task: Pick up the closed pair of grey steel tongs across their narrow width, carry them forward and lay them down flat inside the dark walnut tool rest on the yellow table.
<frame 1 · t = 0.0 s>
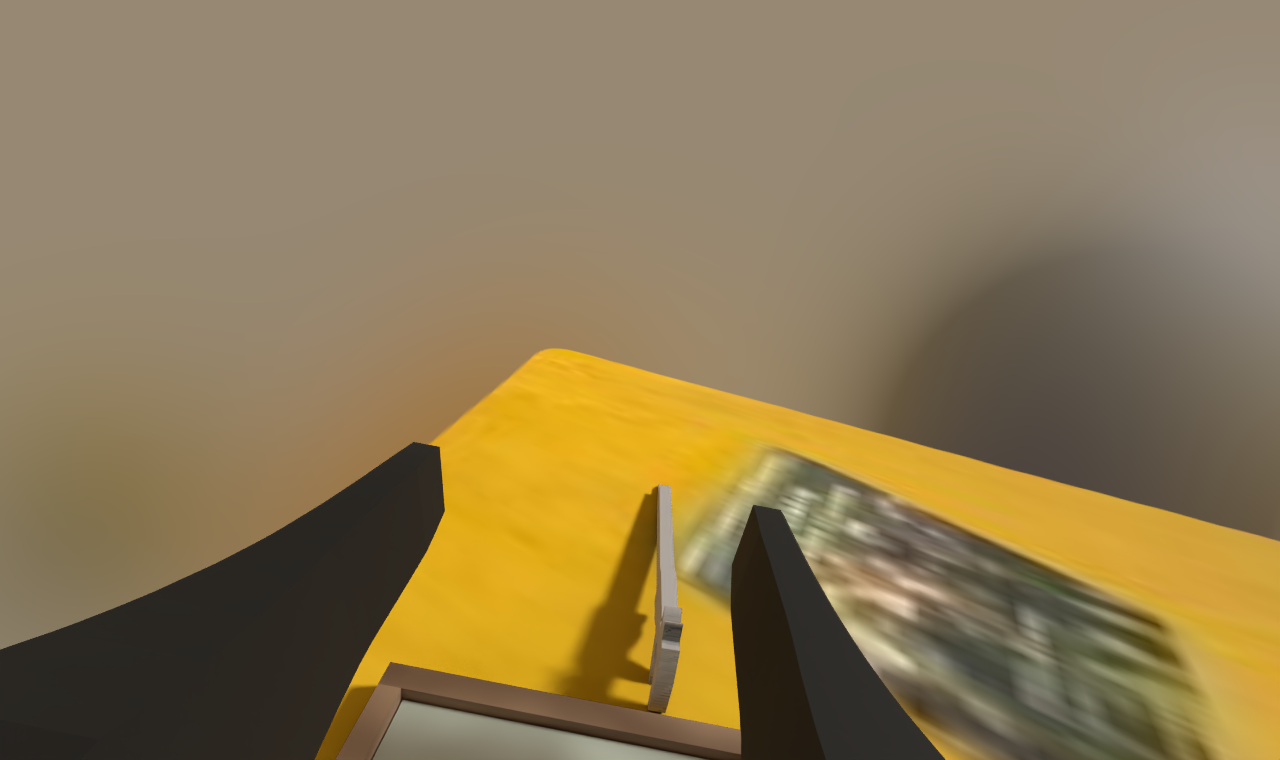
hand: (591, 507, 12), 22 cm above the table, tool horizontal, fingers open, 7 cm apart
caliper: (659, 579, 39), on the table
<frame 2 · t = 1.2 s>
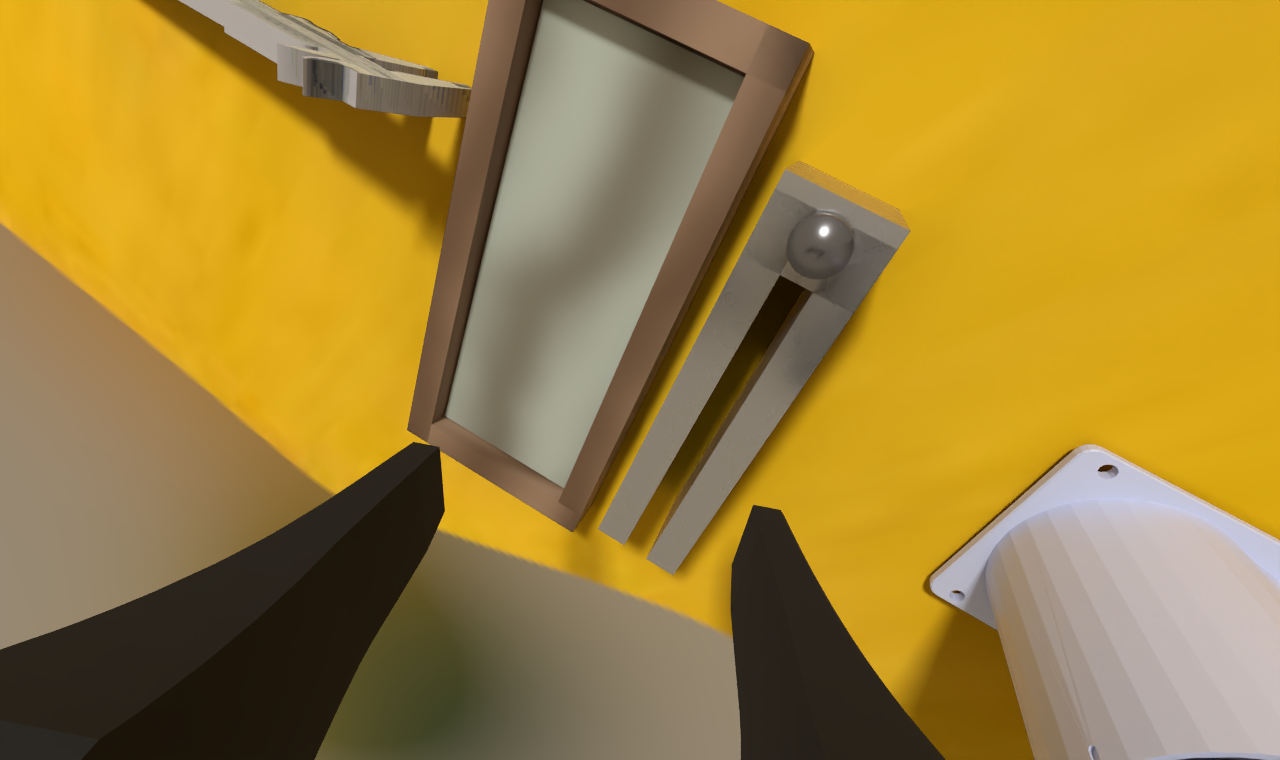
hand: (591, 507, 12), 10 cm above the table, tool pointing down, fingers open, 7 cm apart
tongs: (737, 372, 20), on the table
rest: (572, 281, 21), on the table
caliper: (273, 8, 21), on the table
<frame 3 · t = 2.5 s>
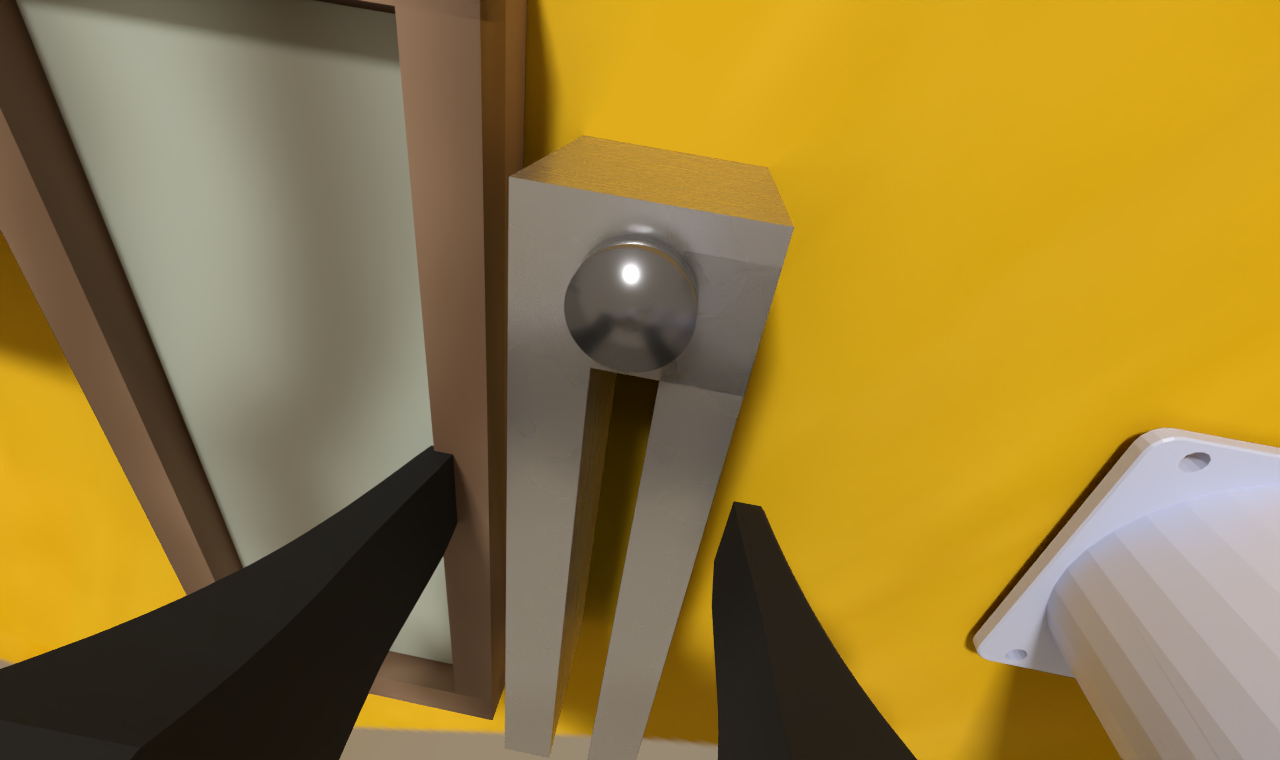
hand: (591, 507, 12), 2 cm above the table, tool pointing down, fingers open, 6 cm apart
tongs: (624, 462, 14), on the table
rest: (342, 408, 14), on the table
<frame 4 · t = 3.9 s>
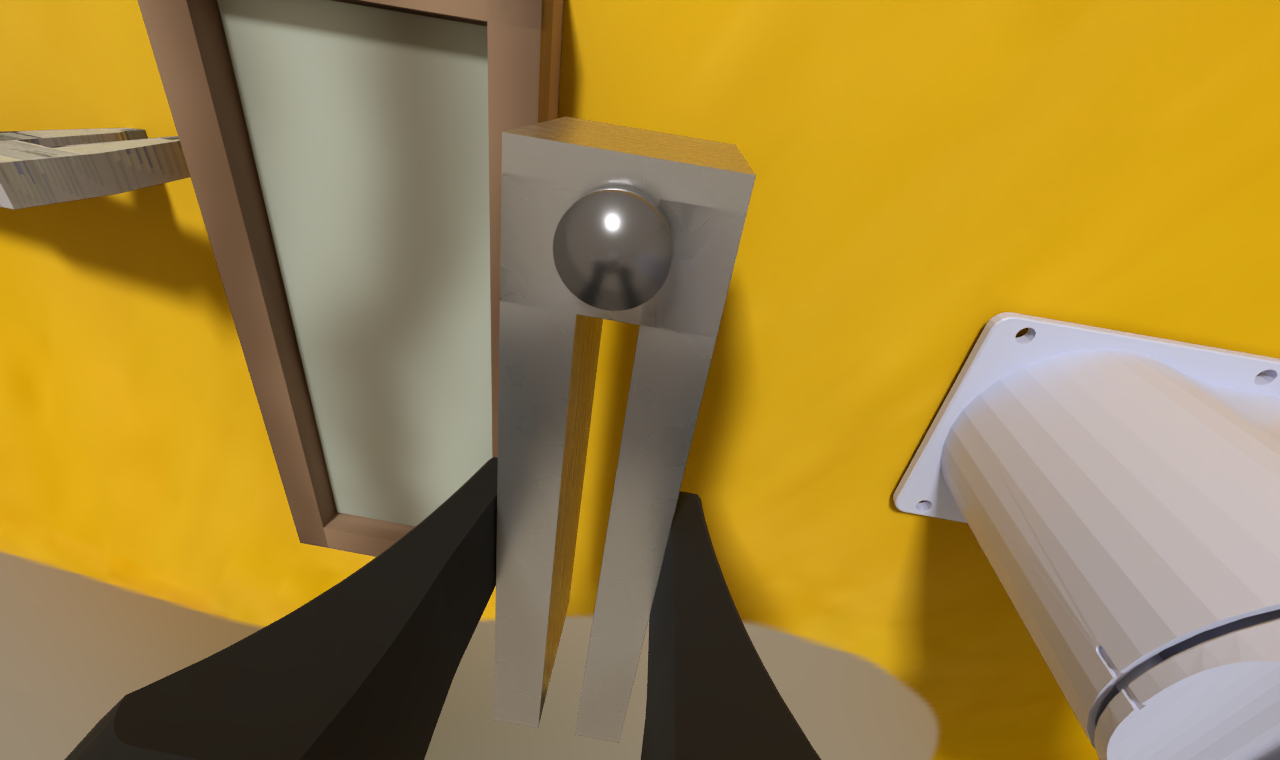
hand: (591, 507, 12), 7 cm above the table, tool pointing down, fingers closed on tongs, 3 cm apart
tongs: (607, 435, 14), point 4 cm above the table, touching gripper
rest: (411, 321, 18), on the table
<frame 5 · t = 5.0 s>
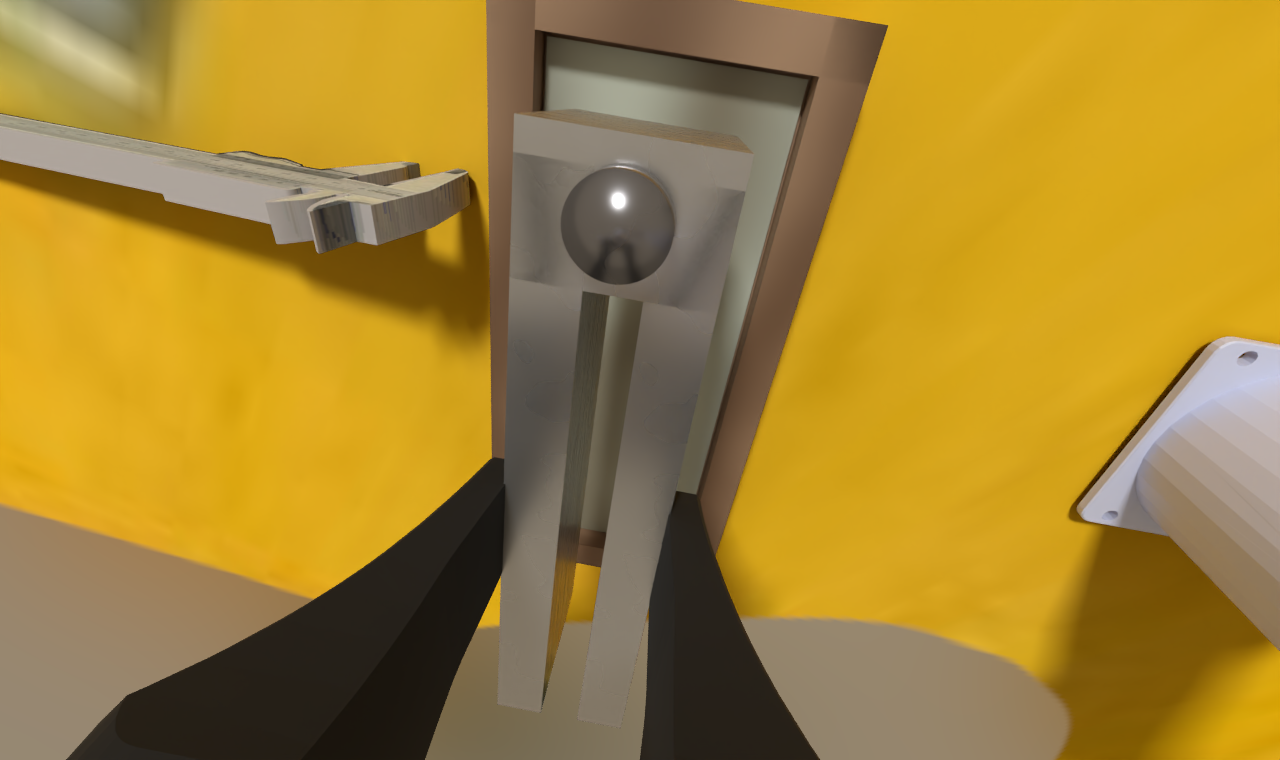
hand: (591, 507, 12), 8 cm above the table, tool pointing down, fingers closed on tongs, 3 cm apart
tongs: (612, 423, 14), point 5 cm above the table, touching gripper
rest: (635, 340, 19), on the table
caliper: (186, 146, 18), on the table
when the fingers open (3 cm above the table, at t = 6.2 s): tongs stays where it is, resting on rest.
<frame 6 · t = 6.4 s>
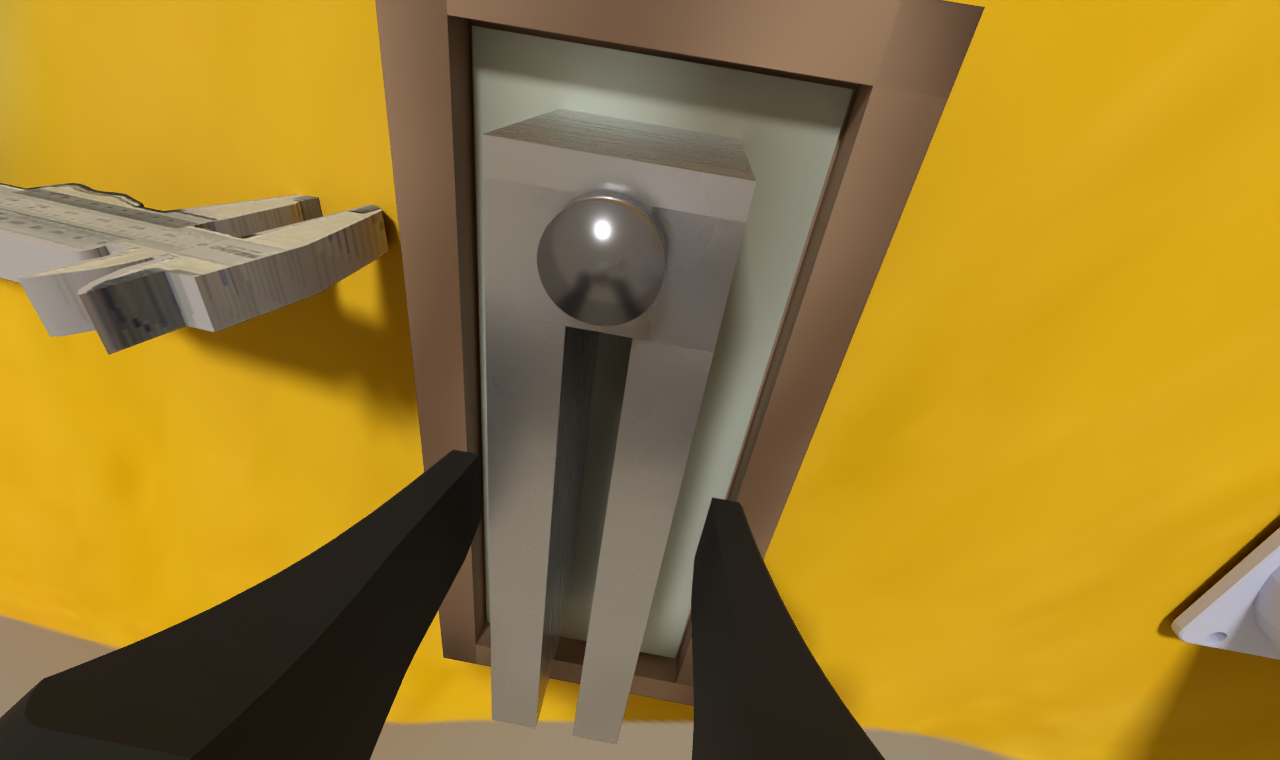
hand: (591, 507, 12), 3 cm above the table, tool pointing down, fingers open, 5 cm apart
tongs: (606, 437, 14), point 1 cm above the table, touching rest
rest: (614, 420, 15), on the table
caliper: (21, 173, 14), on the table
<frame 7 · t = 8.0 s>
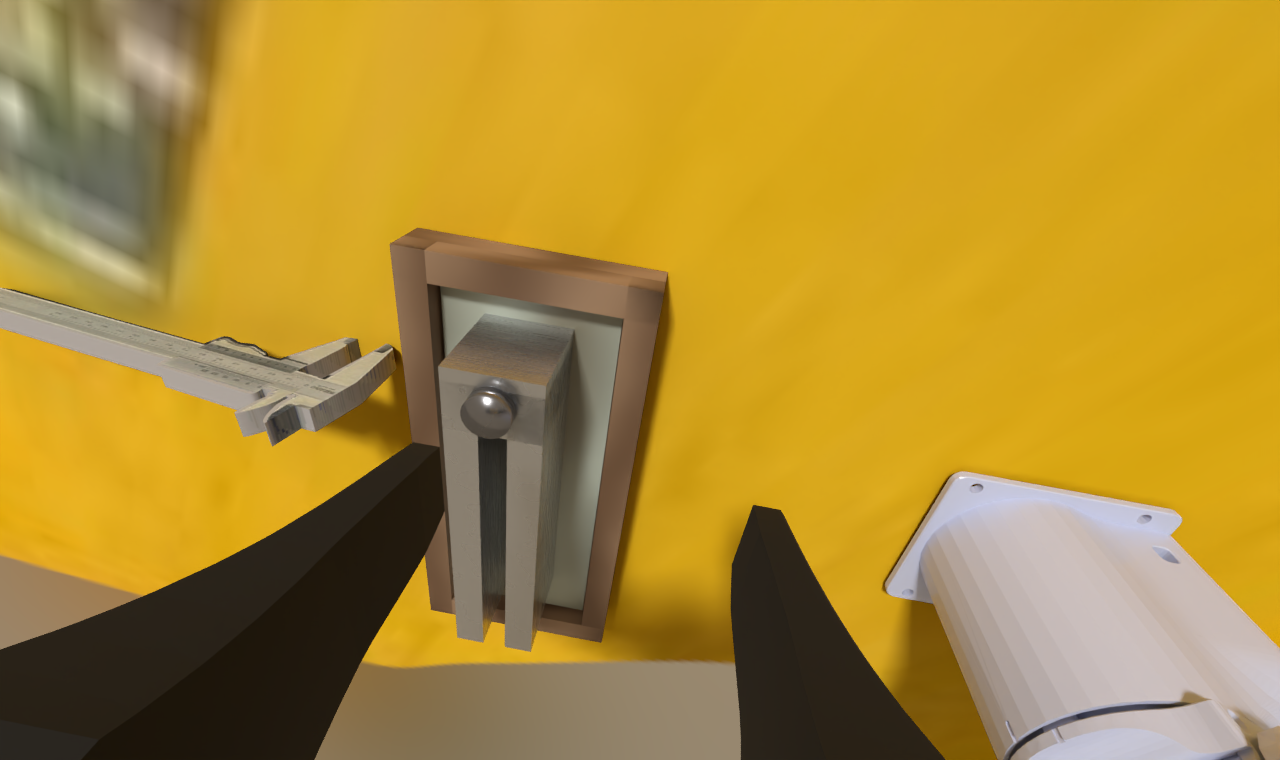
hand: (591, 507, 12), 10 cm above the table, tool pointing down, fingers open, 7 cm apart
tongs: (524, 471, 24), point 1 cm above the table, touching rest
rest: (532, 459, 25), on the table
caliper: (182, 318, 23), on the table
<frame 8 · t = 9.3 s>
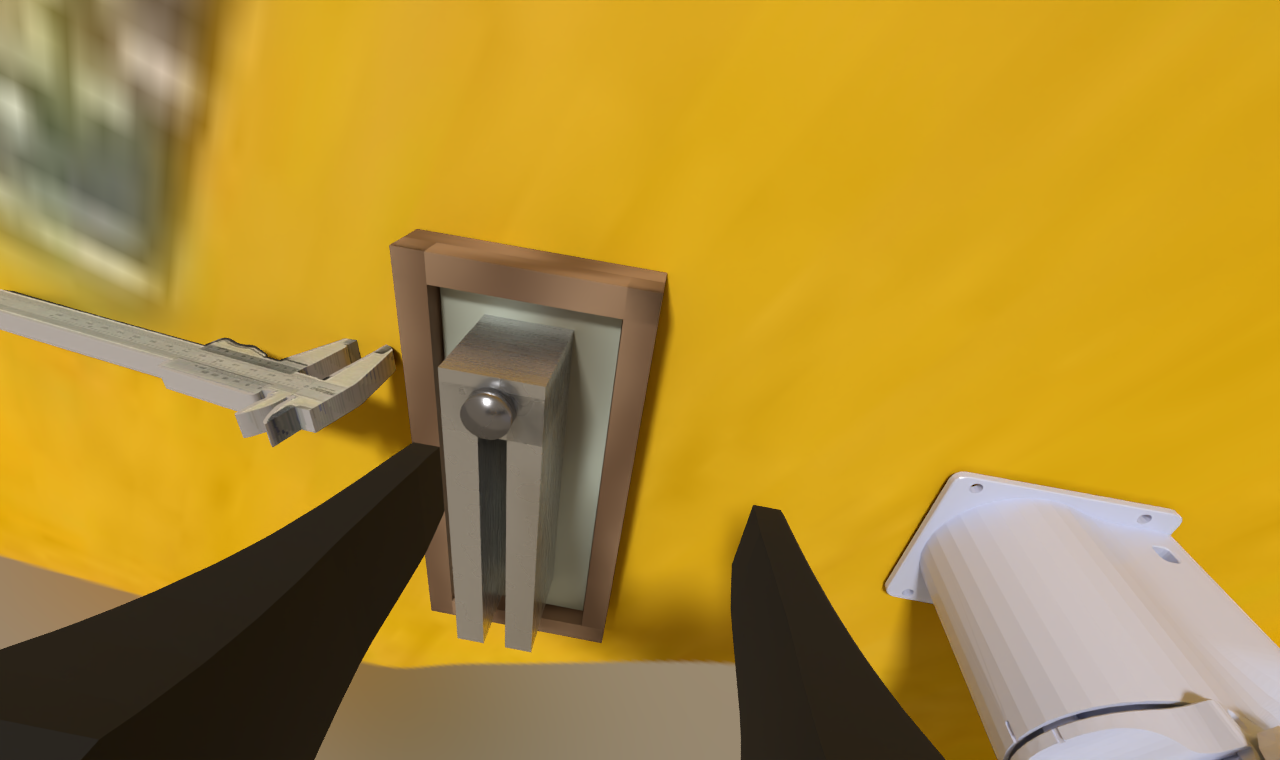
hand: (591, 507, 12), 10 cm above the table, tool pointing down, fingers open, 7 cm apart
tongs: (524, 471, 24), point 1 cm above the table, touching rest
rest: (532, 460, 25), on the table
caliper: (182, 319, 23), on the table
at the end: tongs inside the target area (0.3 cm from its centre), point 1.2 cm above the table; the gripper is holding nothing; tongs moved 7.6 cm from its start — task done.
